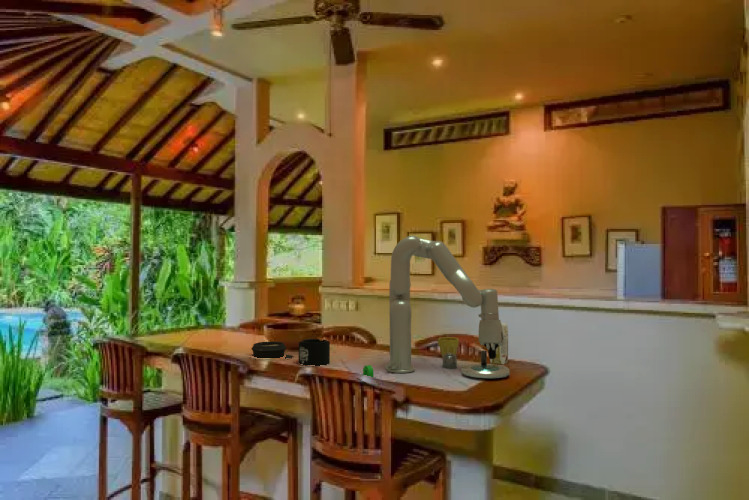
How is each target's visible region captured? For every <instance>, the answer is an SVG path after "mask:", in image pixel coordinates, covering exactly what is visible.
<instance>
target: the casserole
mask: <svg viewBox="0 0 749 500" xmlns="http://www.w3.org/2000/svg"><path fill="white" fill-rule="evenodd" d="M286 349H287V346H286V345H285V342H283V341H260V342H256V343H255V342H254V343H253V345H252V347H251V350H252V355H253V356H254V357H257V358H280V357H283V356H284V354H285V353H286V352H285V351H286ZM292 357H293V358H294V357H295V356H294V355H292V354H286V357H285V359H286V358H291V359H293V358H292Z"/></svg>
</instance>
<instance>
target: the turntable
mask: <svg viewBox="0 0 749 500" xmlns="http://www.w3.org/2000/svg"><path fill="white" fill-rule="evenodd" d="M487 353H488V350H481V351H480V363H472V364H471V363H470V364H466V365H463V366H461V374H462V375H464V376H467V377H470V378H471V377H472V378H477V379H486V378H490V379H500V378H507V377H508V376H510V368H509V367H506V366H505V365H501V364H493V363H488V362H487V355H488V354H487Z"/></svg>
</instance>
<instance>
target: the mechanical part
mask: <svg viewBox="0 0 749 500" xmlns="http://www.w3.org/2000/svg"><path fill="white" fill-rule="evenodd" d="M363 375H367V376H371V377H375V376H374V368H373V366H372V365H369V364H367V365H364V366H363V369H362V376H363Z"/></svg>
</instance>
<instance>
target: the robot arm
mask: <svg viewBox="0 0 749 500" xmlns="http://www.w3.org/2000/svg"><path fill="white" fill-rule="evenodd" d="M413 256H414V257H418V258H419V257H420V258H422V259H430V260H432V261H433V262H434V264H435V266H436V267H437V268H438V270H439V271H440V273H441V274H442V276H443V277H444V278H445V279H446V280H447V281H448V282H449V283H450V284H451V285H452V286H453V287H454V289H455V290H456V291H457V292H458V293H459V295H460V296H461V300H462V302H463V303H464V305H466V306H468V307H470V308H472V309H473V308H479V307H480V313H478V318H480V320H479V323H478V342H479V344H480V345H481V346H484V347H485V348H486V349H487V350H486V351H487V353H488V354H487V355H488V357H489V359H488V360H490V359H495V358H496V349H497V348H498V346H502V345H504V343H503V329H502V324H501V323H502V321H501V319H500V316H499V300H498V299H499V297H498V290H497V289H496V288H484V289H478V288H477V286H476V284H475V283H474V282H473V281H472V279H471V278H470V277H469V276H468V274H467V273H466V271H465V270H464V269H463V267H462V266H461V265H460V263H459V261H457V259H456V258H455V256H454V255H453V254H452V252H451V251H450V249H449V248H448V246H447V245H446V244H445V243H444V242H443V241H440V240H430V239H425V238H421V237H420V238H419V237H418V236H416V235H408V236H406V237H404V238H402V239H401V240H399V242H397V244H396V245H395V246H394V247H393V250H392V253H391V260H390V280H389V295H388V297H389V303H388V304H389V308H388V309H389V311H388V313H389V361H388V363H387V364H385V365H384V369H385V370H386V372H388V373H389V372H390V373H396V374H405V373H406V374H407V373H412V372H414V371H415V370H416V368H415V367H414V366H413V365H412V306H411V284H412V283H411V273H410V272H411V259H412V257H413ZM491 343H492V346H491ZM497 343H498V344H497Z"/></svg>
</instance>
